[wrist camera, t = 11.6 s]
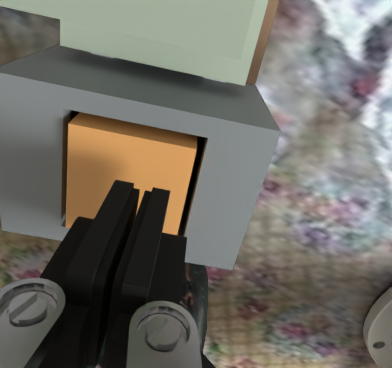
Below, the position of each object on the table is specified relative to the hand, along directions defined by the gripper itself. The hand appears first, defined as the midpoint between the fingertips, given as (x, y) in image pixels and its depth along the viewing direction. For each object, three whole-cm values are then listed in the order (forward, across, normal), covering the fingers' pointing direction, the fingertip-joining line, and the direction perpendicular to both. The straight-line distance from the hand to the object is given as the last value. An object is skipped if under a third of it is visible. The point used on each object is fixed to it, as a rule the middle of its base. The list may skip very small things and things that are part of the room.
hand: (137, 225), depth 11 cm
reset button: (+6, +1, 0) cm, 6 cm away
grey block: (+8, +1, 0) cm, 8 cm away
